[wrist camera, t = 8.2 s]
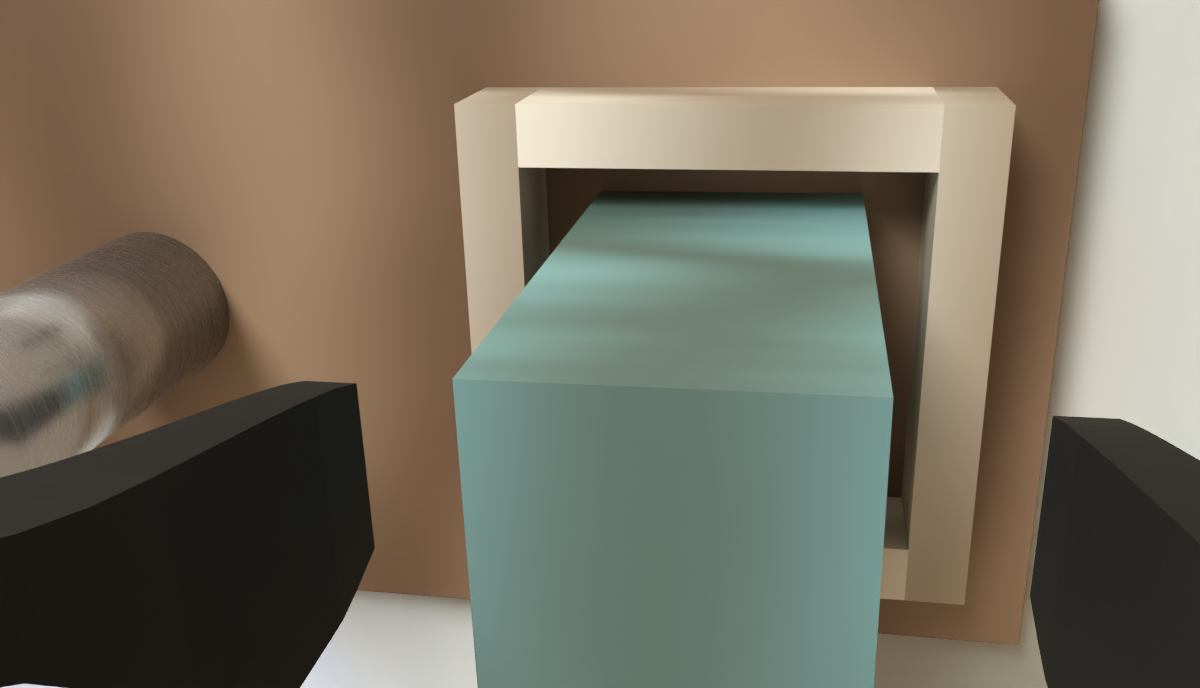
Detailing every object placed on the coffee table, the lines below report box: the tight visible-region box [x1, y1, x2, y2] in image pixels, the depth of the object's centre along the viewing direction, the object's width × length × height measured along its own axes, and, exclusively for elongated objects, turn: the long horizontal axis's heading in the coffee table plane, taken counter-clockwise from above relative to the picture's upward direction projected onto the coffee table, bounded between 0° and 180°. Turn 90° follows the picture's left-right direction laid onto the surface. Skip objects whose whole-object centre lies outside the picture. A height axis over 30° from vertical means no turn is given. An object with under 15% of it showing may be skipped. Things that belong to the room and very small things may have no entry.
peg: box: [452, 191, 893, 688], centre depth 13 cm, size 4×4×7 cm
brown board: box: [0, 0, 1099, 645], centre depth 17 cm, size 18×10×2 cm, turn 92°
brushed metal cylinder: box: [0, 232, 229, 478], centre depth 16 cm, size 2×2×5 cm
